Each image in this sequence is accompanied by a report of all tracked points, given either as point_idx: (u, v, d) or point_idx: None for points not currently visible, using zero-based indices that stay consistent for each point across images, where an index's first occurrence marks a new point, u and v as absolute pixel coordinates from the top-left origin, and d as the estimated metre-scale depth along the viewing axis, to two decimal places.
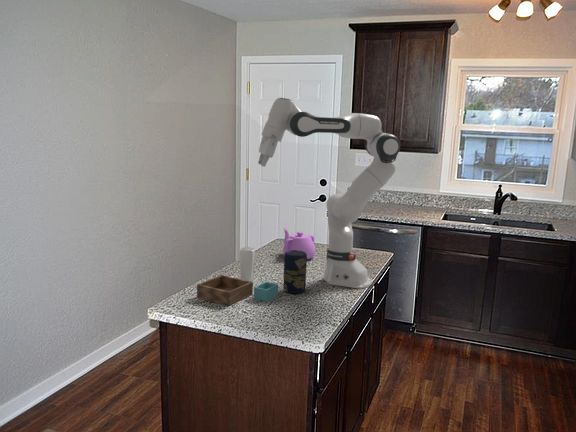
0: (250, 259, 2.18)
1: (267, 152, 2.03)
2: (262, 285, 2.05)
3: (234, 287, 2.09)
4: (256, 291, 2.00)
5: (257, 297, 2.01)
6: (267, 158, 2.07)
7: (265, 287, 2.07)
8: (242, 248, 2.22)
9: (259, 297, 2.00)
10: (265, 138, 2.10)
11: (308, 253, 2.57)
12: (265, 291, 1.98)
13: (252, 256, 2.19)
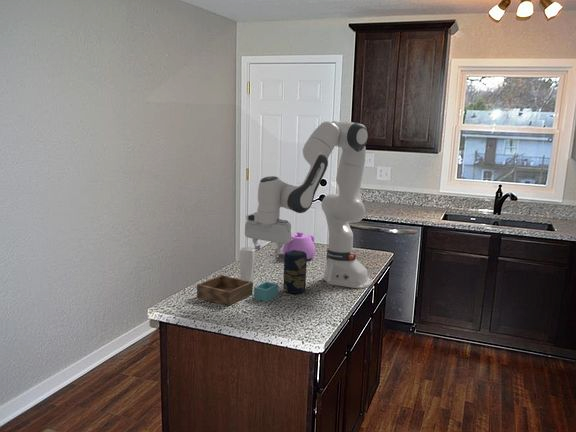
0: (250, 259, 2.18)
1: (288, 240, 1.94)
2: (262, 285, 2.05)
3: (234, 287, 2.09)
4: (256, 291, 2.00)
5: (257, 297, 2.01)
6: (282, 244, 1.97)
7: (265, 287, 2.07)
8: (242, 248, 2.22)
9: (259, 297, 2.00)
10: (268, 225, 1.95)
11: (308, 253, 2.57)
12: (265, 291, 1.98)
13: (252, 256, 2.19)
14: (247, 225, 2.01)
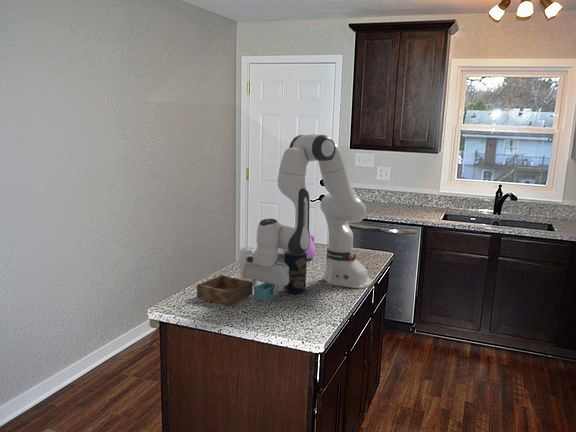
0: None
1: (285, 283, 1.97)
2: (262, 285, 2.05)
3: (234, 287, 2.09)
4: (256, 291, 2.00)
5: (257, 297, 2.01)
6: (278, 285, 2.00)
7: (265, 287, 2.07)
8: (242, 248, 2.22)
9: (259, 297, 2.00)
10: (266, 267, 1.98)
11: (308, 253, 2.57)
12: (265, 291, 1.98)
13: None
14: (245, 266, 2.03)
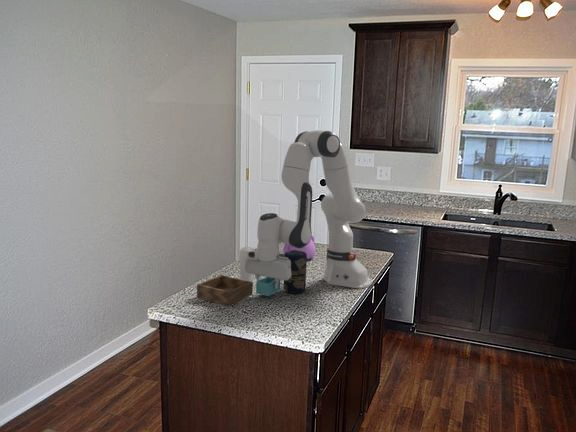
0: None
1: (288, 277, 1.97)
2: (264, 279, 2.05)
3: (234, 287, 2.09)
4: (258, 285, 2.01)
5: (259, 291, 2.01)
6: (280, 279, 2.00)
7: (267, 281, 2.08)
8: (242, 248, 2.22)
9: (261, 291, 2.00)
10: (268, 262, 1.98)
11: (308, 253, 2.57)
12: (267, 285, 1.98)
13: None
14: (247, 261, 2.03)
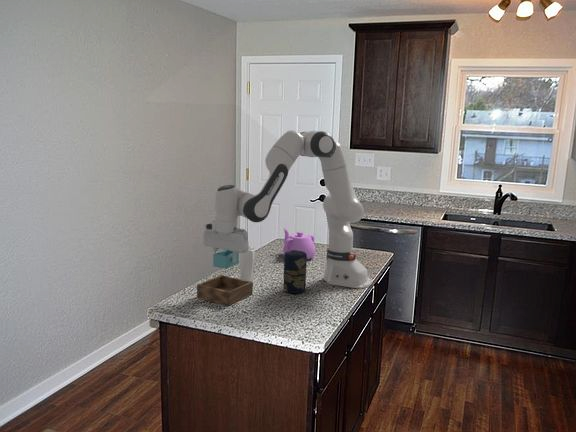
0: (250, 259, 2.18)
1: (245, 249, 1.93)
2: (222, 253, 2.02)
3: (234, 287, 2.09)
4: (215, 258, 1.97)
5: (216, 264, 1.98)
6: (237, 252, 1.97)
7: (226, 255, 2.04)
8: None
9: (218, 264, 1.97)
10: (225, 234, 1.95)
11: (308, 253, 2.57)
12: (224, 258, 1.95)
13: (252, 256, 2.19)
14: (205, 234, 2.00)
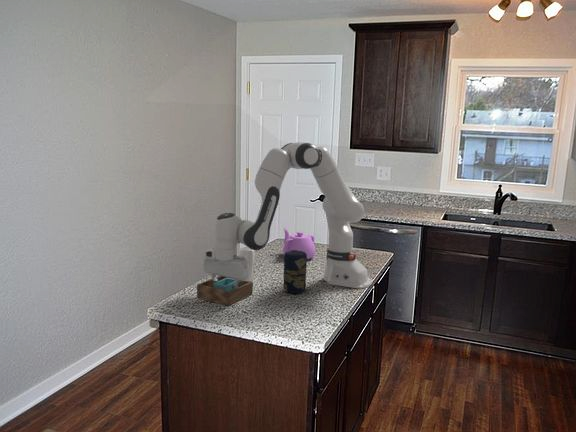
0: (250, 259, 2.18)
1: (244, 277, 1.96)
2: (222, 281, 2.04)
3: None
4: (215, 287, 2.00)
5: None
6: (239, 280, 1.99)
7: (226, 283, 2.07)
8: (242, 248, 2.22)
9: None
10: (225, 262, 1.97)
11: (308, 253, 2.57)
12: (224, 287, 1.97)
13: (252, 256, 2.19)
14: (205, 261, 2.03)
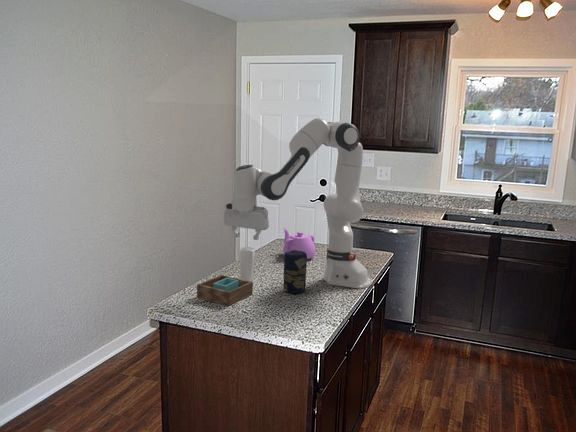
0: (250, 259, 2.18)
1: (265, 226, 1.99)
2: (222, 281, 2.04)
3: None
4: (215, 287, 2.00)
5: None
6: (260, 230, 2.02)
7: (226, 283, 2.07)
8: (242, 248, 2.22)
9: None
10: (246, 213, 2.00)
11: (308, 253, 2.57)
12: (224, 287, 1.97)
13: (252, 256, 2.19)
14: (226, 213, 2.05)
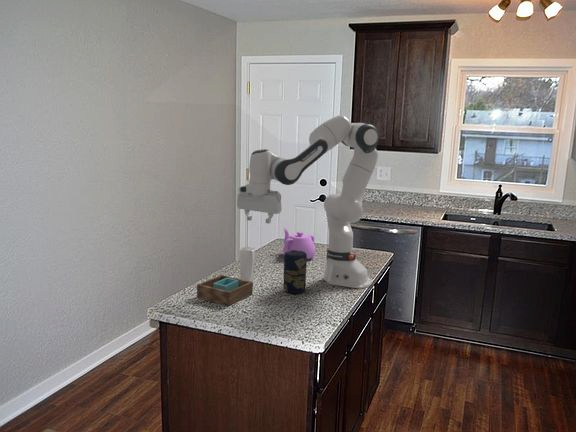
0: (250, 259, 2.18)
1: (278, 210, 2.02)
2: (222, 281, 2.04)
3: None
4: (215, 287, 2.00)
5: None
6: (272, 214, 2.05)
7: (226, 283, 2.07)
8: (242, 248, 2.22)
9: None
10: (259, 196, 2.04)
11: (308, 253, 2.57)
12: (224, 287, 1.97)
13: (252, 256, 2.19)
14: (239, 197, 2.09)
